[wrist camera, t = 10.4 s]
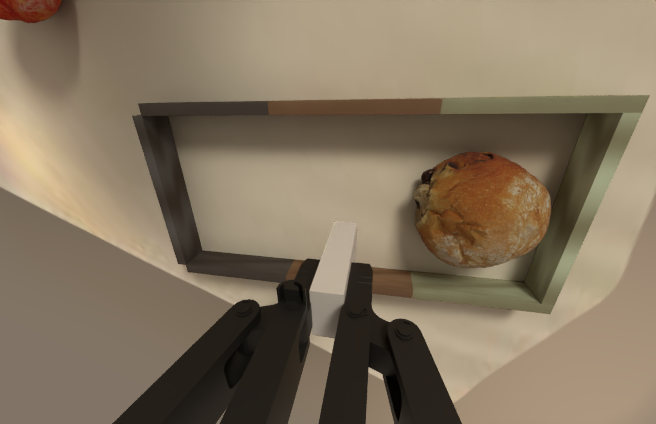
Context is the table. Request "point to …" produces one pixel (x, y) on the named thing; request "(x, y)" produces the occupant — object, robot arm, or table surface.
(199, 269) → the multicolored rectangular frame
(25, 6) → the pomegranate
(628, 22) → the table surface
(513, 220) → the bread roll
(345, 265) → the robot arm
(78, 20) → the table surface
